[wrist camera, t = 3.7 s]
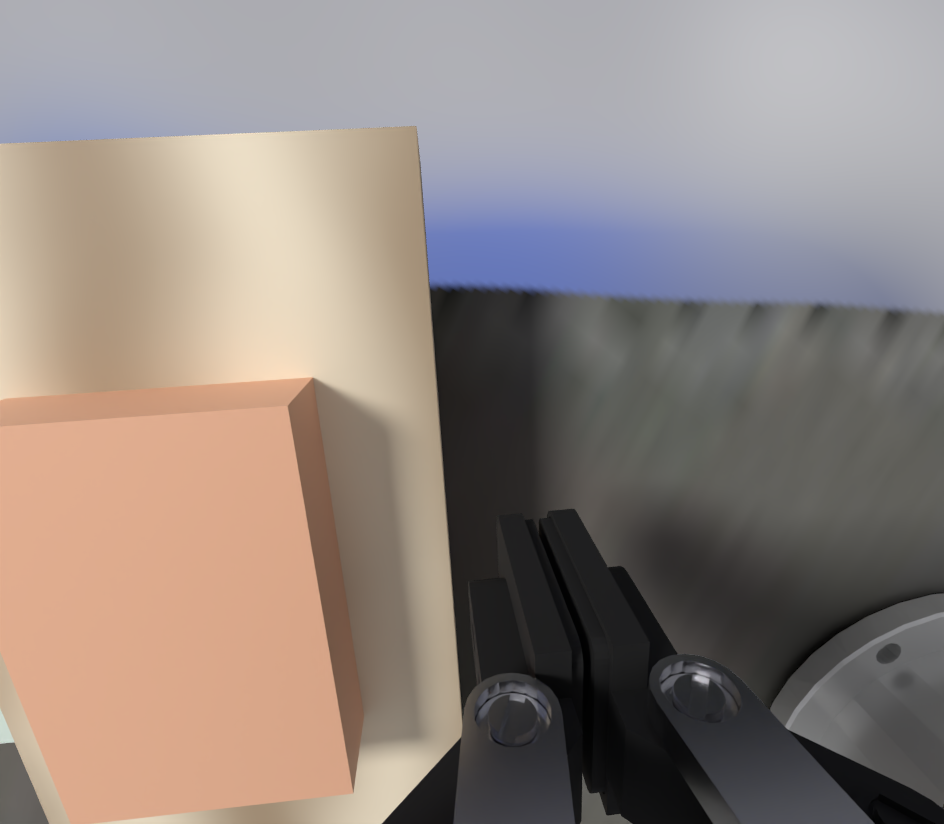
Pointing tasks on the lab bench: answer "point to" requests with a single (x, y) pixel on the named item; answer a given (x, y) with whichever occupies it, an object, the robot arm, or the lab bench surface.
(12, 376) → the beige wooden block
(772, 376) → the lab bench surface
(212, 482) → the salmon orange block
